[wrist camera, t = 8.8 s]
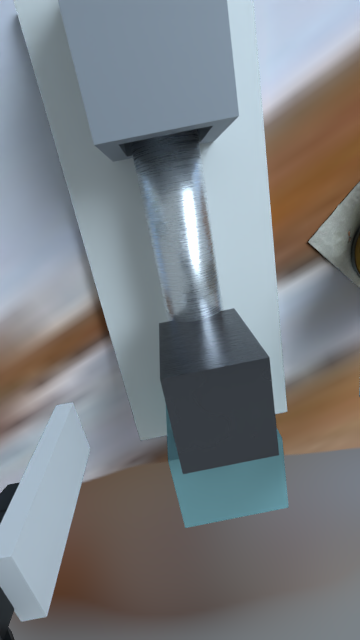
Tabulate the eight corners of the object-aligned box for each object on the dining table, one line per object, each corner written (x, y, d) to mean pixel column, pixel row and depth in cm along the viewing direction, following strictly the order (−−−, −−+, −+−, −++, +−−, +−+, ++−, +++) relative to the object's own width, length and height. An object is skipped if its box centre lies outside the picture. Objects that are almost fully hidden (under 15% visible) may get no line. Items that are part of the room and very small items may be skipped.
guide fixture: (20, 9, 17) (-112, -176, 9) (244, -36, 17) (329, -266, 9) (141, 432, 27) (133, 538, 19) (282, 404, 27) (339, 497, 19)
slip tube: (110, 93, 17) (66, -10, 9) (194, 76, 17) (230, -43, 9) (185, 431, 25) (200, 548, 16) (243, 420, 25) (286, 531, 16)
